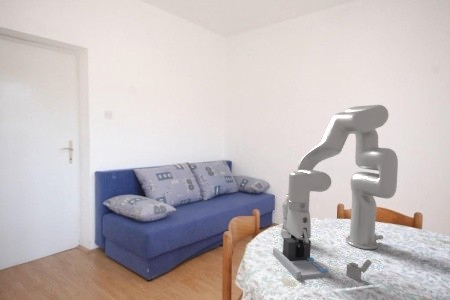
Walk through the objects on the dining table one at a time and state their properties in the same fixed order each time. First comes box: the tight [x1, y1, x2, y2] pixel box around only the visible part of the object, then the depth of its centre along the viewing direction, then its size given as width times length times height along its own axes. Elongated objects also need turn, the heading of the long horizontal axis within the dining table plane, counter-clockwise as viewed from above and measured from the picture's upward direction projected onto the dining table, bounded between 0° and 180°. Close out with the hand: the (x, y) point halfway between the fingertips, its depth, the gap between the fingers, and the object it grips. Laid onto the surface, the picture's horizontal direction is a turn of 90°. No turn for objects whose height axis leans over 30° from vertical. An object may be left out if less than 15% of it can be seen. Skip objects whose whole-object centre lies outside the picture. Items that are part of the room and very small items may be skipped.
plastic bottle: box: [280, 193, 289, 239], centre depth 118 cm, size 6×7×20 cm
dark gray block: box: [282, 237, 312, 261], centre depth 99 cm, size 9×4×7 cm, turn 104°
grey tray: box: [272, 247, 330, 281], centre depth 94 cm, size 12×18×3 cm, turn 14°
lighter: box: [346, 259, 373, 282], centre depth 85 cm, size 7×2×8 cm, turn 39°
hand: (296, 253), depth 99 cm, fingers closed on dark gray block, 4 cm apart
